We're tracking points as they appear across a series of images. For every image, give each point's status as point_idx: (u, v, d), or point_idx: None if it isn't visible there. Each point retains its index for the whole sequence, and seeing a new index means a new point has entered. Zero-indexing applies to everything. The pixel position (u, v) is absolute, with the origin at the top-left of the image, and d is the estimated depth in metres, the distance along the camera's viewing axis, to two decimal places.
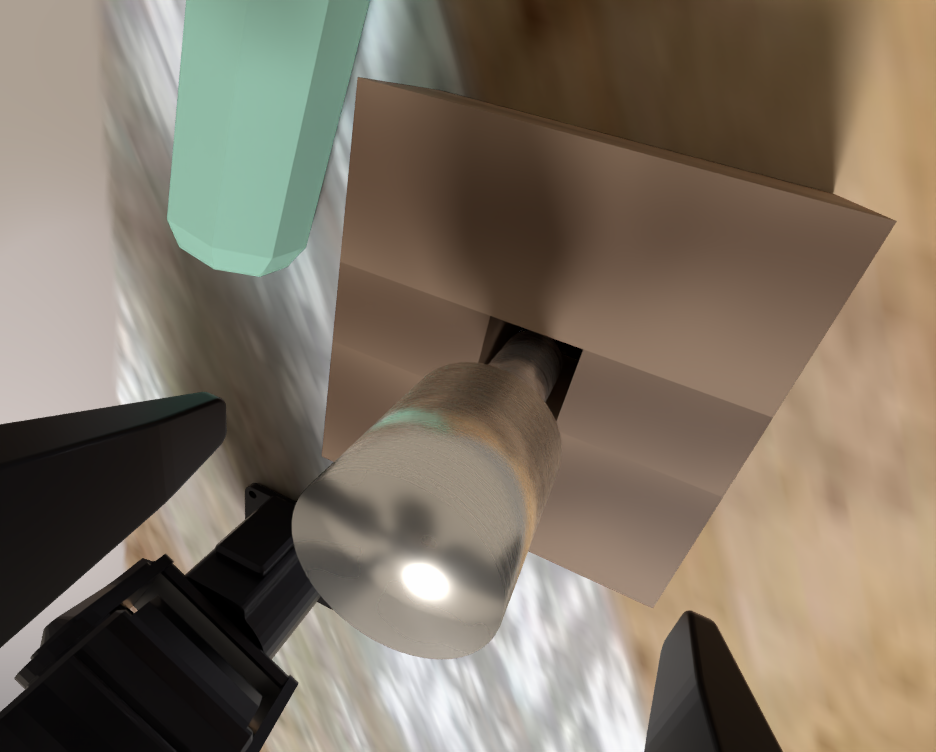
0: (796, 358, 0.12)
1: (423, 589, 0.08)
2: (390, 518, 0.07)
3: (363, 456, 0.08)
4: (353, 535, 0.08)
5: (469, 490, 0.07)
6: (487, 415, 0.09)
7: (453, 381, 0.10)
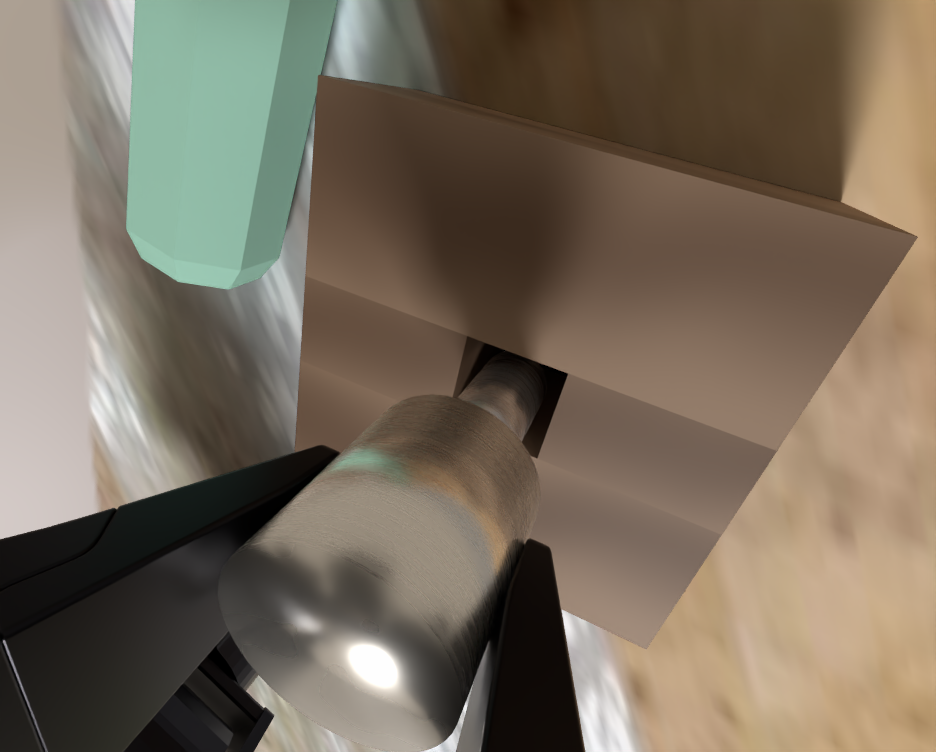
0: (803, 387, 0.10)
1: (367, 677, 0.07)
2: (326, 598, 0.06)
3: (295, 521, 0.06)
4: (286, 612, 0.07)
5: (419, 563, 0.06)
6: (450, 463, 0.08)
7: (414, 420, 0.08)
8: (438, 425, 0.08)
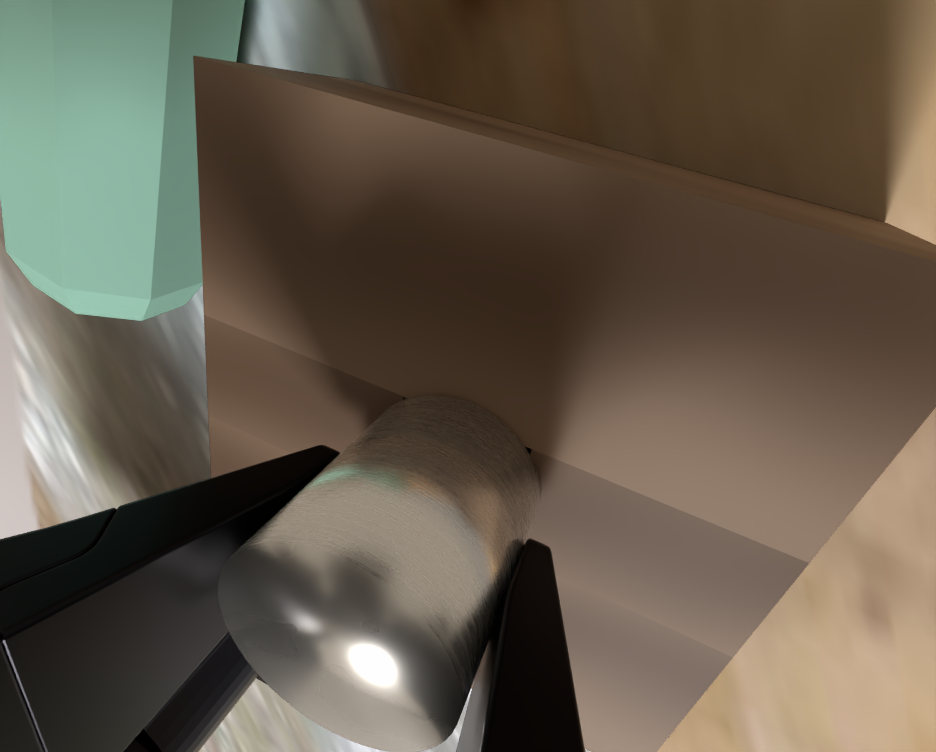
0: (848, 485, 0.07)
1: (368, 676, 0.07)
2: (326, 598, 0.06)
3: (294, 521, 0.06)
4: (286, 612, 0.07)
5: (420, 563, 0.06)
6: (450, 462, 0.08)
7: (413, 420, 0.08)
8: (438, 425, 0.08)
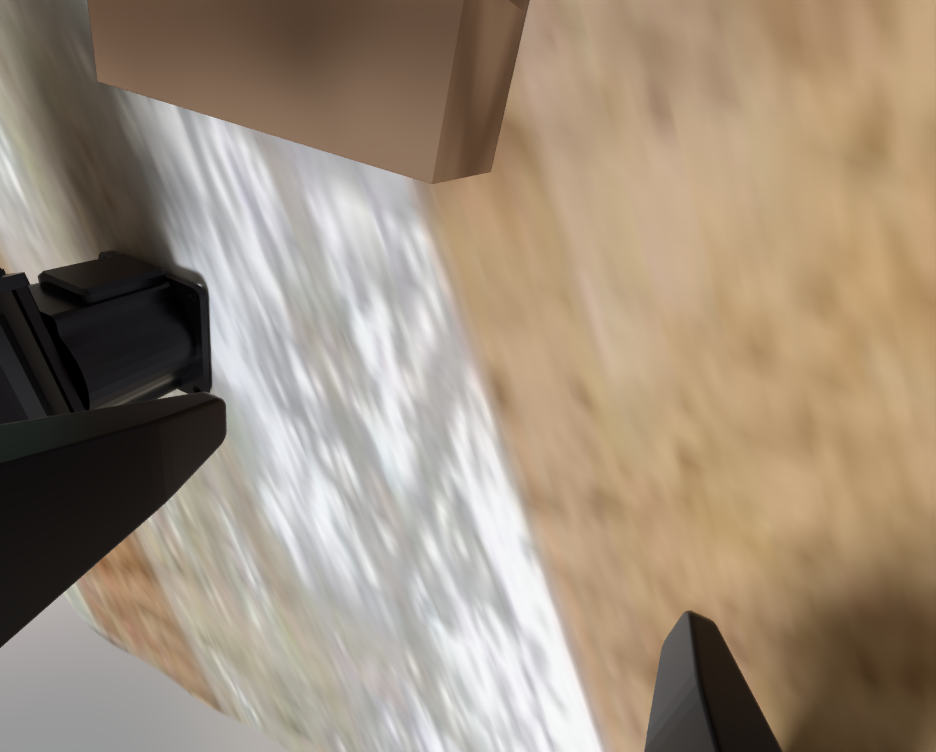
0: None
1: None
2: None
3: None
4: None
5: None
6: None
7: None
8: None
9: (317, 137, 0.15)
